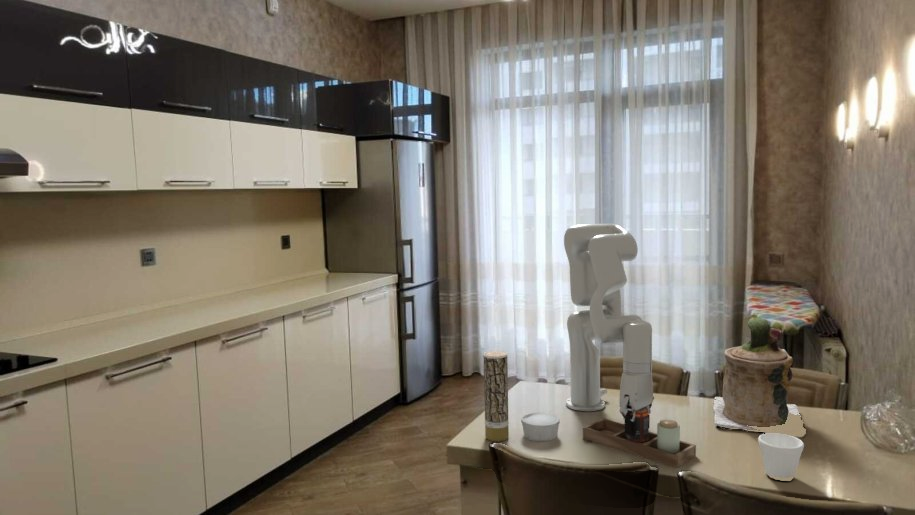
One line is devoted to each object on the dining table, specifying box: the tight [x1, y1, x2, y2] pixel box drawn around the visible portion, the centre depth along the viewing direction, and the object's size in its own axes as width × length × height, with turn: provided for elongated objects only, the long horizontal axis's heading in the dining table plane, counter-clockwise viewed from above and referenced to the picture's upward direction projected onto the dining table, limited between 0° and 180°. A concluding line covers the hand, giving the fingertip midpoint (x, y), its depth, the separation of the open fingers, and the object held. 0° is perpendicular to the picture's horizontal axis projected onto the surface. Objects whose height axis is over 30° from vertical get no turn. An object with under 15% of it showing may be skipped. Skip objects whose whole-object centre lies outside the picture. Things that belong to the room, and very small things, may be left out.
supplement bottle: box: [626, 406, 650, 443], centre depth 175 cm, size 6×6×11 cm
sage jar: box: [656, 418, 681, 455], centre depth 168 cm, size 6×6×9 cm
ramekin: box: [520, 412, 561, 442], centre depth 186 cm, size 11×11×5 cm
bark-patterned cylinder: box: [483, 350, 510, 442], centre depth 184 cm, size 7×7×25 cm
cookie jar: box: [712, 313, 804, 431], centre depth 193 cm, size 25×25×32 cm
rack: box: [582, 417, 697, 469], centre depth 175 cm, size 10×29×4 cm, turn 43°
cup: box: [757, 433, 805, 478], centre depth 156 cm, size 10×10×9 cm
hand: (637, 430), depth 175 cm, fingers closed on supplement bottle, 6 cm apart
